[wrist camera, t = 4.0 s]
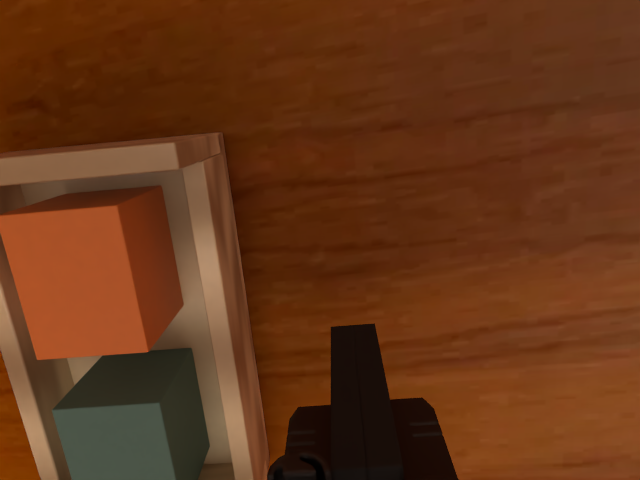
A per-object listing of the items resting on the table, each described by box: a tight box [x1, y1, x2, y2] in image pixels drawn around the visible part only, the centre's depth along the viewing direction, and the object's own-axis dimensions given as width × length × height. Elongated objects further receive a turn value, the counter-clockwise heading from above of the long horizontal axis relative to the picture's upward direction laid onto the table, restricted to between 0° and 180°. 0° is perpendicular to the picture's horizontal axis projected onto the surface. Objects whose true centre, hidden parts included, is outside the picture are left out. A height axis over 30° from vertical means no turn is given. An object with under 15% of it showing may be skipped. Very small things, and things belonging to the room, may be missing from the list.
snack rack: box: [0, 132, 270, 480], centre depth 18 cm, size 16×9×6 cm, turn 5°
